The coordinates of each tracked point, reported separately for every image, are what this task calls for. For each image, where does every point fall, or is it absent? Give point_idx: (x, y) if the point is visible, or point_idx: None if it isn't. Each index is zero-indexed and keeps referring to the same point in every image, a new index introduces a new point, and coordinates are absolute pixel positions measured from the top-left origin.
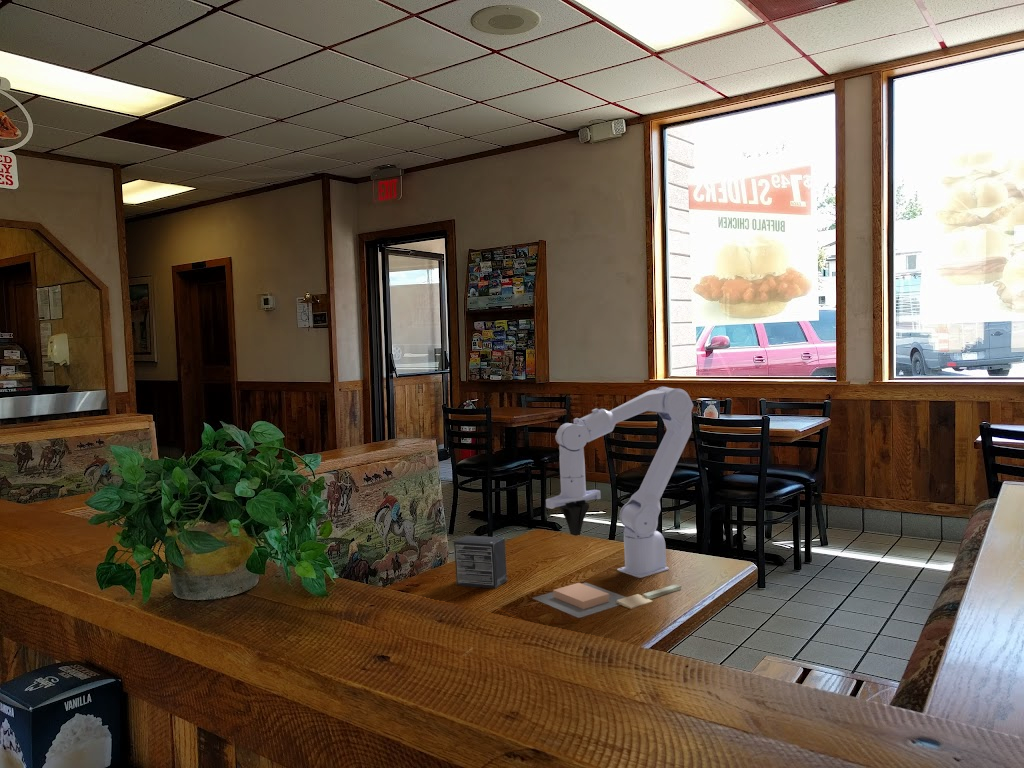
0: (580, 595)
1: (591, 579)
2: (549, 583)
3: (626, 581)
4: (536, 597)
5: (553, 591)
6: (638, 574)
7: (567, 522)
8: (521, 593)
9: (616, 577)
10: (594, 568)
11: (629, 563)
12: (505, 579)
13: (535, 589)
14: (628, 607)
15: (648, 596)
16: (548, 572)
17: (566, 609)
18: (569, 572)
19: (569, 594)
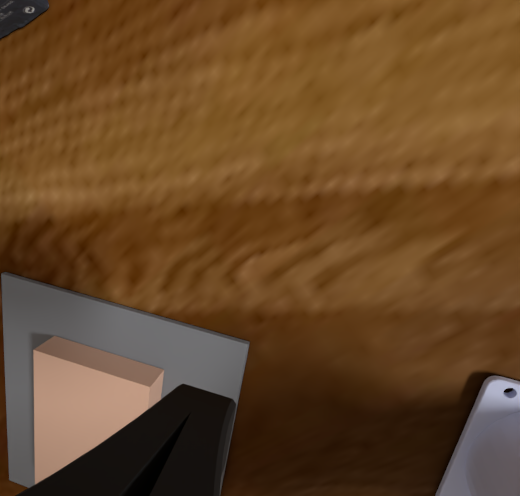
0: (63, 455)
1: (312, 330)
2: (159, 206)
3: (373, 462)
4: (15, 283)
5: (38, 346)
6: (458, 493)
7: (84, 461)
8: (12, 193)
9: (399, 407)
10: (478, 247)
11: (481, 491)
12: (24, 14)
13: (74, 208)
14: None
15: None
16: (277, 77)
17: (21, 424)
18: (341, 176)
19: (44, 421)
